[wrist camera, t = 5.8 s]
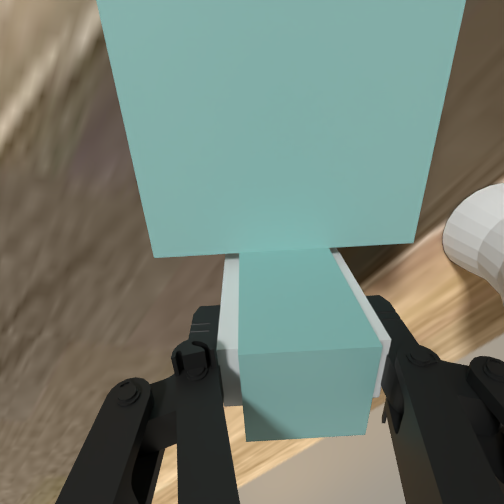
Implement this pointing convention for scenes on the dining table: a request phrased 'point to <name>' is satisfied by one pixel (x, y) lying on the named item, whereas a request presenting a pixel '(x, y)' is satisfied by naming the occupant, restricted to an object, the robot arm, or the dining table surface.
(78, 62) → the dining table surface
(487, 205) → the cup
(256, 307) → the lid
